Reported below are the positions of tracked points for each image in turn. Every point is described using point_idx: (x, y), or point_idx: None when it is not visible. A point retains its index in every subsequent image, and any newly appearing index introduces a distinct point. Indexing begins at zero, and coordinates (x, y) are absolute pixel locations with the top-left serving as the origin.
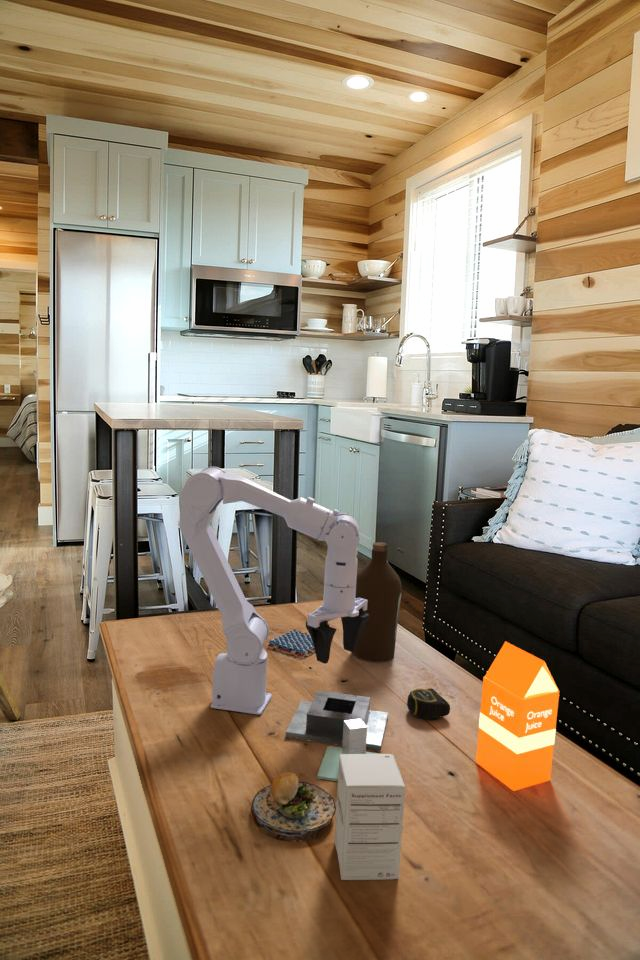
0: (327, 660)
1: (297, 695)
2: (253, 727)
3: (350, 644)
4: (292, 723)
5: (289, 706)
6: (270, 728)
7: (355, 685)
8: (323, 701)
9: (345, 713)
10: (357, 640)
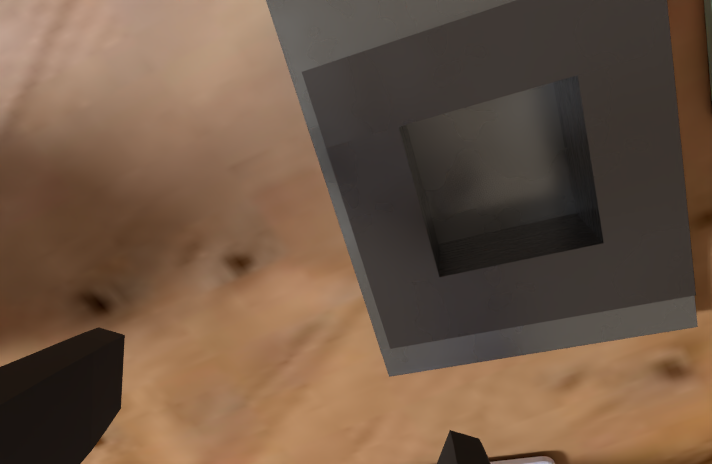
0: (470, 450)
1: (320, 402)
2: (651, 440)
3: (79, 398)
4: (608, 331)
5: (420, 395)
6: (631, 388)
7: (97, 250)
8: (497, 279)
9: (585, 113)
10: (3, 374)
